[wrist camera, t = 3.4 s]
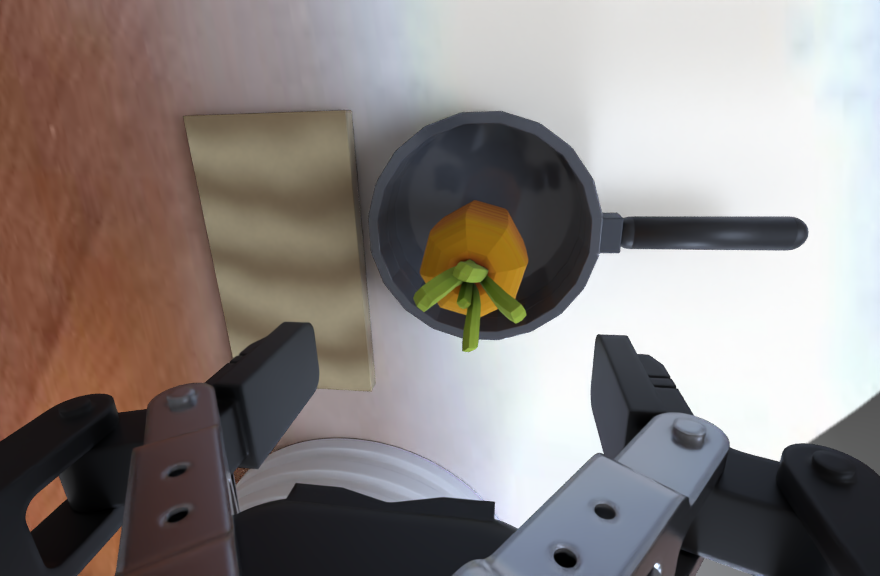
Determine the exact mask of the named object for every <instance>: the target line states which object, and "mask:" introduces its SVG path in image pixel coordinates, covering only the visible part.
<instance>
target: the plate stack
mask: <svg viewBox="0 0 880 576" xmlns="http://www.w3.org/2000/svg"><path fill="white" fill-rule="evenodd" d="M295 483H302V484H313V485H323V486H334V487H343V488H346V489H349V490H352V491H355V492H358V493H361V494H364V495H367V496H370V497H373V498H376V499H379V500H382V501H385V502H400V501H410V500H419V499H429V498H438V497H449V498H460V499H470V500H481V501H484V500H483V499H482V498H481V497H480V496H479V495H478V494H477V493H476V492H475V491H474V490H473V489H471V488H470V487H469V486H468V485H467V484H465V483H464V482H463V481H462V480H460V479H459V478H458V477H456V476H455V475H453V474H452V473H450V472H449V471H447V470H446V469H444V468H442V467H441V466H439V465H437V464H435V463H433V462H431V461H430V460H428V459H425V458H423V457H421V456H419V455H416V454H414V453H411V452H409V451H406V450H403V449H400V448H397V447H394V446H390V445H386V444H382V443H378V442H373V441H367V440H359V439H346V438H331V439H318V440H311V441H306V442H301V443H297V444H294V445H290V446H288V447H285V448H282V449H280V450H278V451H276V452H273V453H272V454H270V455H268V456H267V458H266V459H265V460H264V462H263V463H262V465H261V466H260V467H259V469H249V470H248V471H247V472H246V473H245V474H244V476H243V477H242V478H241V479H240V481H239V482H238V483H237V485H236V489H237V495H238V501H239V507H240V512H242V511H244V510H246V509H249V508H251V507H254V506H257V505H260V504H263V503H266V502H270V501H275V500H280V499H286V498H287V496H288V495H289V493H290V491H291V490H292V488H293V487H294V485H295ZM494 519H496V520H499V519H498V518H497V516H496V515H495V516H494ZM499 521H500V520H499Z"/></svg>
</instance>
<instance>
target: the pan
mask: <svg viewBox="0 0 880 576" xmlns="http://www.w3.org/2000/svg"><path fill="white" fill-rule="evenodd" d="M474 200H477V201H480V202H484V203H487V204H491V205H494V206H498V207H501V208H505V209H506V210H507V211H508V212H509V214H510V216H511V218H512V220H513V222H514V224H515V226H516V227H517V229H518V231H519V233H520V235H521V237H522V239H523V241H524V244H525V247H526V251H527V256H528V264H527V266H526V269H525V272H524V275H523V278H522V281H521V284H520V286H519V289H518V292H517V295H516V298H515V300H517V301H518V302H519V303H520V304H521V305H522V306H523V308H524V309H525V311H526V316H525V318H524V319H523V320H522V321H520V322H518V323H514V322H512V321H511V320H509V319H508V318H507V317H506V316H505V315H504V314H502V313H501V312H500V310H499V309H497V310H495V311H493V312H490V313H488V314H486V315H484V316H482V317H480V327H479V339H481V340H501V339H505V338H509V337H513V336H517V335H521V334H525V333H529V332H531V331H533V330H535V329H537V328H538V327H540V326H542V325H543V324H545V323H547V322H549V321H550V320H552V319H554V318H555V317H557V316H559V315H560V314H562V313H563V311H564V310H565V309H566V308H567V307H568V306H569V305H570V304H571V303H572V301H573V300H574V299H575V298H576V297H577V296H578V295H579V294H580V293H581V291H582V290H583V289H584V287H585V286H586V284H587V282H588V279H589V277H590V275H591V273H592V270H593V268H594V266H595V264H596V261H597V259H598V257H599V253H600V245H601V234H602V223H603V218H602V217H603V215H602V211H601V207H600V203H599V199H598V195H597V191H596V187H595V183H594V180H593V178H592V176H591V175H590V173H589V172H588V170H587V169H586V167H585V166H584V164H583V163H582V161H581V160H580V158H579V157H578V155H577V154H576V152H575V151H574V149H573V148H571V146H570V145H569V144H567V143H566V142H565V141H563V140H562V139H561V138H559V137H558V136H557V135H555V134H554V133H553V132H551V131H550V130H549V129H547V128H546V127H545V126H543V125H542V124H540V123H538V122H535V121H532V120H529V119H525V118H522V117H519V116H516V115H513V114H509V113H506V112H503V111H502V112H501V111H487V112H462V113H458V114H456V115H453V116H451V117H448V118H445V119H443V120H440V121H438V122H435V123H432V124H430V125H427V126H425V127H423V128H422V129H421V130H420V131H419V132H417V133H416V134H415V135H414V136H413V137H411V138H410V139H409V140H408V141H407V142H405V143H404V144H403V145H402V146H401V147H399V148H398V149H397V150H396V152H394V154H393V156H392V157H391V159H390V161H389V162H388V164H387V166H386V167H385V169H384V170H383V172H382V174H381V175H380V177H379V179H378V180H377V183H376V185H375V190H374V194H373V198H372V202H371V207H370V211H369V215H368V222H369V234H370V246H371V251H372V252H371V253H372V256H373V258H374V260H375V263H376V265H377V268H378V270H379V273H380V275H381V278H382V280H383V282H384V284H385V285H386V287H387V288H388V289H389V290H390V292H391V293H392V294H393V295H394V296H395V298H396V299H397V300H398V301H399V303H400V304H401V305H402V306H403V308H404V309H405V310H407V311H408V312H410V313H411V314H412V315H414V316H415V317H417V318H418V319H420V320H421V321H423V322H424V323H425V324H427V325H428V326H430V327H431V328H433V329H436V330H439V331H442V332H445V333H448V334H451V335H454V336H457V337H460V338H463V332H464V325H465V319H466V315H464V314H461V313H457V312H454V311H451V310H447V309H444V308H441V307H440V306H439V305H438V303H436V304H434V305H433V306H432V307H430V308H429V309H428V310H426V311H425V312H423V311H422V310H421V309H419V308H418V307H417V306H416V304H415V301H414V299H413V297H414V295H415V293H416V292H417V291H418V290H419V289H420V288H421V287H422V286H423V285H425V284H426V283H425V282H424V280H423V278H422V277H421V275H420V268H421V264H422V260H423V256H424V252H425V249H426V245H427V241H428V237H429V233H430V231H431V230H432V228H433V227H434V226H435V225H436V224H437V223H438V222H439V221H440V220H441V219H442V218H444V217H445V216H447V215H448V214H450V213H452V212H454V211H456V210H457V209H459V208H461V207H463V206H465V205H466V204H468V203H470V202H472V201H474Z"/></svg>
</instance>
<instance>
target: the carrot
mask: <svg viewBox="0 0 880 576" xmlns="http://www.w3.org/2000/svg"><path fill="white" fill-rule="evenodd" d="M527 264H528V256H527V251H526V247H525V244H524V241H523V239H522V237H521V235H520V233H519V231H518V229H517V227H516V226H515V224H514V222H513V220H512V218H511V216H510V214H509V212H508V211H507V210H506V209H505V208H501V207H498V206H494V205H491V204H487V203H484V202H480V201H477V200H474V201H472V202H470V203H468V204H466V205H465V206H463V207H461V208H459V209H457V210H456V211H454V212H452V213H450V214H448V215H447V216H445V217H444V218H442V219H441V220H440V221H439V222H438V223H437V224H436V225H435V226H434V227H433V228H432V230H431V231H430V233H429V237H428V241H427V245H426V249H425V252H424V256H423V260H422V264H421V268H420V275H421V277H422V278H423V280H424V282H425V283H426V284H425V285H423V286H422V287H421V288H420V289H419V290H418V291H417V292H416V293H415V295H414V297H413V299H414V301H415V304H416V306H417V307H418V308H419V309H421V310H422V311H423V312H425V311H426V310H428V309H429V308H430V307H432V306H433V305H434V304H436V303H438V305H439V306H440V307H441V308H444V309H447V310H451V311H454V312H457V313H461V314H464V315H466V319H465V325H464V332H463V342H462V351H464V352H470V351H473V350H475V349H476V348H477V347H478V340H479V327H480V317H482V316H484V315H486V314H488V313H490V312H493V311H495V310H497V309H499V310H500V312H501V313H502V314H504V315H505V316H506V317H507V318H508V319H509V320H511V321H512V322H514V323H518V322H520V321H522V320H523V319H524V318H525V316H526V311H525V309H524V308H523V306H522V305H521V304H520V303H519V302H518V301H517V300H515V298H516V295H517V292H518V289H519V286H520V284H521V281H522V278H523V275H524V272H525V269H526V266H527Z"/></svg>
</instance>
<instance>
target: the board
mask: <svg viewBox="0 0 880 576" xmlns="http://www.w3.org/2000/svg"><path fill="white" fill-rule="evenodd" d="M183 118H184V123H185V128H186V133H187V138H188V143H189V148H190V152H191V157H192V162H193V167H194V172H195V177H196V182H197V186H198V191H199V196H200V201H201V206H202V211H203V215H204V220H205V225H206V230H207V235H208V240H209V245H210V249H211V254H212V259H213V264H214V269H215V274H216V279H217V283H218V288H219V293H220V298H221V303H222V308H223V313H224V317H225V322H226V327H227V332H228V337H229V342H230V347H231V351H232V356H233V358H234V357H236V356H239V353H240V352H241V351H243V350H244V349H245V348H246V347H247V346H249V345H250V344H252V343H254V342H256V341H258V340H260V339H262V338H264V337H267V336H268V335H269V334H270V333H271V332H272V331H273V330H275V329H276V328H277V327H278V326H279V325H280V324H282V323H283V322H309V323H311V324H312V326H313V328H314V333H315V341H316V348H317V356H318V363H319V382H318V386H317V388H318V389H336V390H353V391H370V392H371V391H372V389H373V387H374V385H375V383H376V382H375V371H374V360H373V348H372V337H371V326H370V314H369V303H368V292H367V280H366V269H365V258H364V246H363V235H362V224H361V213H360V201H359V190H358V179H357V167H356V156H355V145H354V133H353V122H352V111H351V110H334V111H306V112H278V113H250V114H221V115H193V116H183Z"/></svg>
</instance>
